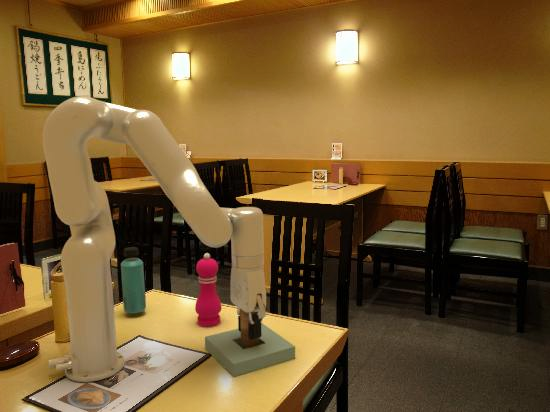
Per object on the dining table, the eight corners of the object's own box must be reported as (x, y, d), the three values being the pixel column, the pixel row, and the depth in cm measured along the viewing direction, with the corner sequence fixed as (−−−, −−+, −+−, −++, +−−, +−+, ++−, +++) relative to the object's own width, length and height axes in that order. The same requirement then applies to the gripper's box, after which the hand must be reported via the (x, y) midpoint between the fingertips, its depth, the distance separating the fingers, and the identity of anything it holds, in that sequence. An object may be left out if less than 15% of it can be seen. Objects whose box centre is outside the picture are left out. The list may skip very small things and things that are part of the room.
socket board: (234, 377, 102) (233, 364, 101) (205, 348, 115) (204, 336, 115) (295, 358, 110) (295, 346, 110) (261, 333, 124) (261, 322, 123)
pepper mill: (208, 330, 126) (206, 258, 123) (190, 323, 130) (187, 253, 127) (227, 321, 132) (225, 252, 128) (208, 315, 136) (206, 248, 133)
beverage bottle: (151, 312, 138) (148, 246, 135) (133, 320, 133) (129, 251, 129) (136, 308, 142) (132, 244, 138) (118, 315, 136) (114, 248, 133)
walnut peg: (246, 349, 109) (245, 312, 108) (237, 342, 113) (236, 306, 112) (262, 344, 112) (262, 308, 110) (253, 337, 115) (253, 302, 114)
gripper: (218, 254, 114) (220, 325, 117) (250, 272, 100) (252, 352, 103) (245, 250, 118) (247, 319, 121) (280, 266, 104) (281, 343, 107)
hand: (249, 333), depth 112 cm, fingers closed on walnut peg, 4 cm apart
